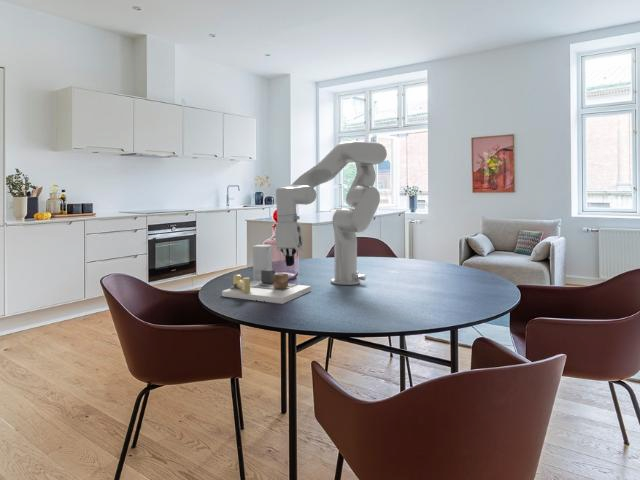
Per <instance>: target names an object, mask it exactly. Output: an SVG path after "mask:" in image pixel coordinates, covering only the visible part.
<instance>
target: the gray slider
mask: <svg viewBox="0 0 640 480" xmlns="http://www.w3.org/2000/svg"><path fill="white" fill-rule="evenodd" d="M275 274H276V269H275V268H272V269H263V270H261V283H272V282H274V278H273V275H275Z"/></svg>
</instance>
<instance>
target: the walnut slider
mask: <svg viewBox="0 0 640 480" xmlns="http://www.w3.org/2000/svg"><path fill="white" fill-rule="evenodd" d="M273 278H274V288H279V289H284V288H286V287H288V283H289V274H288V273H284V272H283V273H280V272H278V273H275V275H273Z"/></svg>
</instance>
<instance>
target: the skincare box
mask: <svg viewBox="0 0 640 480" xmlns="http://www.w3.org/2000/svg"><path fill="white" fill-rule="evenodd" d="M272 256H273V255H272V244H256V245H253V246H252V275H253V276H252V277H253V280H252V281H254V280H257V281H261V270H263V269H273V257H272Z"/></svg>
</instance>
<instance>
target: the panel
mask: <svg viewBox="0 0 640 480" xmlns="http://www.w3.org/2000/svg"><path fill="white" fill-rule="evenodd" d="M310 292H312V286H311V285H304V284H303V285H301V284H296V283H289V282H288V287H286V288H284V289H279V288H274V282H272V283H261V281H257V280H254V281H253V280H252V281H251V280H250V292H249V293H244V292H243V291H242V290H240V289H239V288H237V287H234V285H231V286H229V288H227V289H224V290H221V295H222V297H226V298H234V299H241V300H249V301H250V300H251V301H256V300H257V301H256V302H264V301H265V303H273V304H281V305H282V304H286V303H287V302H290V301H291V300H294V299H297V298H299V297H301V296H303V295H305V294H307V293H310Z"/></svg>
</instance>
